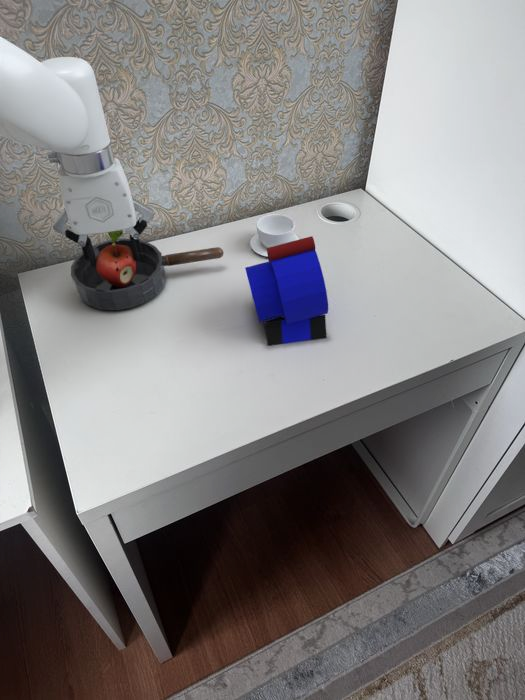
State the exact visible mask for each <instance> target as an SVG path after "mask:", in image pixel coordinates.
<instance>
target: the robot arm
mask: <svg viewBox="0 0 525 700" xmlns="http://www.w3.org/2000/svg"><path fill="white" fill-rule="evenodd" d="M0 137H2V138H4V139H7V140H11V141H14V142H18V143H21V144H26V145H30V146H33V147H37V148H40V149H44V150H47V151H49V152H47V158H48V161H49V163H57V164H58V165H59V168H58V171H57V172H58V173H57V174H58V175H57V176H58V182H59V189H60V193H61V198H62V201H63V206H64V208H63V209H62V211H61V212H60V213H59V215H58V216H57V217H56V218H55V219H54V220H53V222H52V228H53V230H54V231H56V232H58V233H59V234H61V235H64V236H65V238H67V239H68V240H70V241H72V242H74V243H76V244H77V246H78V247H80V248H81V250H82V252H83V254H84V257H85V260H89V261H90V264H91V267H92V266H95V265H96V263H95V262H96V257H95V253H94V250H93V246H94V245H93V244H92V240H91V238H90V237H89V235H90V236H92V235H98V234H108V232H114V231H121V230H122V231H126V232H127V233H128V234H129V239H130V242H131V246H132V250H133V254H134V259H136V260H139V255H138V252H142V249H141V244H140V240H141V239H140V237H141V235H142V233H143V232H144V231H145V230H146V228H147V227H148V225H149V223H150V222H151V221H152V220H153V218H154V217H155V212H154V209H153V208H151V207H150V206H148V205H146V204H145V203H143V202H141V201H140V200H138V199H137V198H134V197H133V195H132V191H131V187H130V183H129V181H128V179H127V176H126V173H125V170H124V168H123V166H122V164H121V161H120V160H119V159H118V158H117V157H115V155H114V151H113V146H112V143H111V142H112V141H111V137H110V134H109V129H108V125H107V120H106V116H105V113H104V108H103V105H102V99H101V95H100V92H99V86H98V83H97V78H96V75H95V71H94V69H93V67H92V66H91V64H90V63H89V62H88V61H86V60H85V59H83V58H80V57H76V56H57V57H52V58H48V59H45V60H43V61H40V60H38V59H37V58H36V57H34V56H33V55H31V54H30V53H29V52H26V51H25V50H24V49H22V48H20V47H18V46H17V45H15V44H14V43H13V42H10V41H9V40H7V39H5V38H4V37H2V36H0ZM136 212H137V213H139V214H141V217H139V218H138V220H137V213H136ZM67 223H68V224H69V226H68V225H67Z"/></svg>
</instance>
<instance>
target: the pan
mask: <svg viewBox="0 0 525 700" xmlns="http://www.w3.org/2000/svg"><path fill="white" fill-rule="evenodd" d="M139 240H140V244H141V249H142V252H138V255H139V260H136V271H135V274H134V277H133V279H132V281H131V282H130V283H129V284H128V285H127V286H125V287H116V286H113V285H111V284H109V283H108V282H107V281H106V280H104V279H103V278H102V277H101V276H100V275H99V274H98V272H97V270H96V265H95V266H92V267H91V264H90V261H89V260H85V257H84V254H83V251H82V252H81V253H80V254H79V255H77V256H76V258H75V259H74V261H73V262H72V264H71V266H70V276H71V280H72V282H73V285H74V287H75V291H76V293H77V295H78V297H79V298H80V300H81V301H82V302H83V303H85V304H86V305H88V306H89V307H92V308H95V309H99V310H103V311H119V310H120V311H121V310H126V309H131V308H134V307H137V306H140V305H143V304H144V303H145V304H146V303H147V302H148V301H150V300H151V299H153V298H154V297H156V296H157V295H158V294H159V293H160V291H161V290H163V288H164V285H165V283H166V279H167V276H166V271H165V270H166V269H165V266H164V265H163V260H162V256H163V255H162V253H161V251H160V250H159V248H157V246H156V245H154V244H152V243H151V242H148V241H145V240H141V239H139ZM112 243H113V241H112V239H110V240H105V241H103V242H100V243H96V244H94V245H92V246H93V250H94V253H95V257H97V255H98V254H99V252H100V251H101V250H103V249H104V248H106V247H107V246H110V245H112ZM114 243H116V245H125V246H128V247H130V248H131V249H132V246H131V242H130V238H118V239H117V240H116V241H115V242H114ZM132 251H133V250H132Z"/></svg>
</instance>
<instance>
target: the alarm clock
mask: <svg viewBox="0 0 525 700" xmlns="http://www.w3.org/2000/svg"><path fill="white" fill-rule="evenodd" d="M267 254H268V257H267V260H268V261H265V262H261V263H257V264H254V265H250V266H246V267H244V269H245V274H246V277H247V281H248V285H249V289H250V291H251V296H252V300H253V304H254V307H255V308H254V309H255V312H256V315H257V318H258V322H259V323H263V327H264V332H265V337H266V338H265V339H266V342H267V343H266V344H267V347H269V346H270V347H271V346H276V345H284V344H285V345H286V344H291V343H299V342H306V341H315V340H320V339H327V323H326V322H327V321H326V315H327V314H329V300H328V293H327V287H326V282H325V278H324V274H323V270H322V265H321V263H320V259H319V256H318V254H317V250H316V243H315V239H314V237H313V235H311V236H307V237H303V238H299V240H295V241H292V242H288V243H284V244H280V245H277V246H273V247H269V248H267ZM278 318H283V319H281V320H274V319H278ZM271 320H274V321H271ZM267 321H268V322H267Z"/></svg>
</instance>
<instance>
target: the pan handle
mask: <svg viewBox="0 0 525 700" xmlns="http://www.w3.org/2000/svg"><path fill="white" fill-rule="evenodd" d="M223 256H224V250H223V249H222V248H221V247H219V246H216V247H209V248H202V249H196V250H190V251H182V252H176V253H170V254H169V253H168V254H164V255H162V260H163V265H164V267H172V266H178V265H185V264H190V263H192V264H193V263H197V262H204V261H211V260H218V259H221V258H222V257H223Z"/></svg>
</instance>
